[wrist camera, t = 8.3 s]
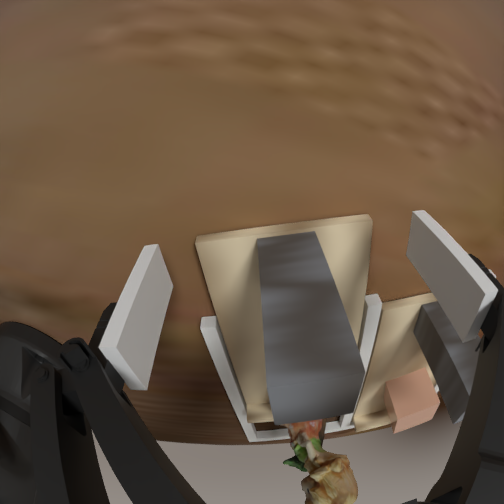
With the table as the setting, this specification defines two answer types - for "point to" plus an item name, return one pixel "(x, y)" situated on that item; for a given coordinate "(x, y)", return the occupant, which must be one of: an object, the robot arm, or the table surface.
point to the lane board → (232, 387)
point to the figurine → (320, 465)
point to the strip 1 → (292, 313)
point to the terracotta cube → (410, 400)
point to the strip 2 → (416, 358)
